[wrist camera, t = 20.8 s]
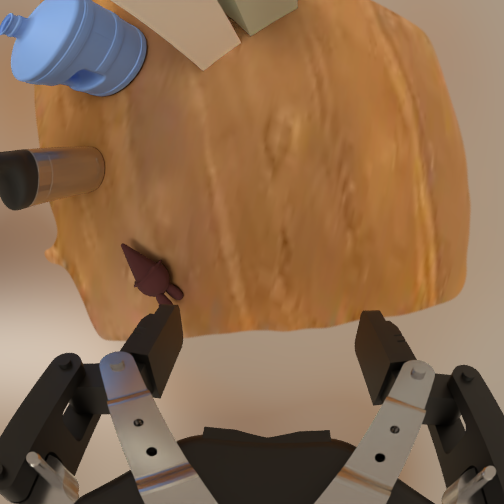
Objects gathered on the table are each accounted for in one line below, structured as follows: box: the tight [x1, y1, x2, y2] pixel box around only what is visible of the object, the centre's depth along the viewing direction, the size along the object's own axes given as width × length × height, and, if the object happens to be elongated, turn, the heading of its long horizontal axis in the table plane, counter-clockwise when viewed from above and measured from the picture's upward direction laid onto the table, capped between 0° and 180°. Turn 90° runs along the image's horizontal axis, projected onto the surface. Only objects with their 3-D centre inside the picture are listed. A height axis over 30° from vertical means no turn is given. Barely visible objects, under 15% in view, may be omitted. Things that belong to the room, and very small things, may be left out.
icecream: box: [121, 244, 183, 306], centre depth 49 cm, size 7×7×15 cm
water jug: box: [0, 0, 147, 96], centre depth 28 cm, size 16×16×28 cm
